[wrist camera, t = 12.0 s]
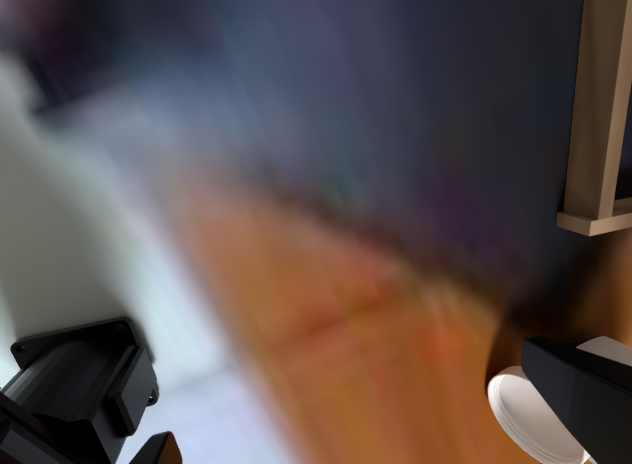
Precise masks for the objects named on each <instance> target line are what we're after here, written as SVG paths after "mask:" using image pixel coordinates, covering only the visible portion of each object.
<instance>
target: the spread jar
mask: <svg viewBox="0 0 632 464" xmlns="http://www.w3.org/2000/svg"><path fill="white" fill-rule="evenodd" d="M564 344H566V345H569V346H572V347H575V348H578V349H581V350H584V351H587V352H590V353H593V354H596V355H599V356H602V357H605V358H608V359H611V360H614V361H617V362H620V363H623V364H626V365H629V366H632V349H631V348H630V347H628V346H626V345H624V344H622V343H620V342H618V341H616V340H614V339H611V338H609V337H606V336H601V335H591V336H585V337H581V338H578V339H575V340H572V341H569V342H566V343H564ZM488 399H489V403H490V406H491V408H492V411H493V413H494V415H495V417H496V418H497V420H498V421H499V423H500V425H501V426H502V427H503V429H504V430H505V431H506V433H507V434H508V435H509V436H510V437H511V438H512V439H513V440H514V441H515V442H516V443H517V444H518V445H519V446H520V447H521V448H522V449H523V450H524V451H526V452H527V453H528V454H530V455H531V456H532V457H534V458H536V459H537V460H539V461H540V462H542V463H544V464H583V463H584V462H585V461H586V460H587V459H589V460H590V461H591V462H592V463H593V464H597V463H596V462H595V461H594V459H593V458H592V457H591V456H590V455H589V454H588V453H587V452H586V450H585V449H584V448H583V447H582V446H581V445H580V444H579V443H578V442H577V440H576V439H575V438H574V437H573V436H572V435H571V433H570V432H569V431H568V430H567V429H566V428H565V426H564V425H563V424H562V423H561V421H560V420H559V419H558V417H557V416H556V415H555V413H554V412H553V411H552V410H551V408H550V407H549V406H548V404H547V403H546V402H545V400H544V399H543V398H542V396H541V395H540V394H539V392H538V391H537V390H536V388H535V387H534V386H533V385H532V383H531V382H530V381H529V379H528V378H527V377H526V375H525V374H524V372H523V370H522V368H521V366H512V367H507V368H506V369H504V370H502V371H501V372H500V373H498V374H497V375H496V376H494V377H493V378H492V379H491V380H490V382H489V385H488Z"/></svg>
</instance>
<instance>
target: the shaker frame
mask: <svg viewBox="0 0 632 464" xmlns="http://www.w3.org/2000/svg"><path fill="white" fill-rule="evenodd" d="M631 81H632V0H584V5H583V15H582V25H581V35H580V46H579V56H578V66H577V76H576V86H575V97H574V107H573V117H572V127H571V138H570V148H569V158H568V168H567V178H566V189H565V199H564V209H563V211H562V212H557V219H556V226H558V227H561V228H564V229H568V230H571V231H574V232H577V233H580V234H583V235H587V236H593V235H597V234H602V233H606V232H611V231H615V230H620V229H624V228H629V227H632V197H629V198H624V199H619V200H615V201H614V196H615V189H616V182H617V176H618V169H619V162H620V155H621V149H622V142H623V135H624V128H625V121H626V115H627V108H628V101H629V94H630V87H631Z"/></svg>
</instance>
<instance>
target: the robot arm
mask: <svg viewBox="0 0 632 464" xmlns="http://www.w3.org/2000/svg"><path fill="white" fill-rule="evenodd" d="M119 324H123V325H125V326H126V327H125V328H123V327H120V325H119ZM21 346H23V347H25V348H26V349H23V348H22V347H21ZM10 349H11V352H12V354H13V356H14V358H15V360H16V362H17V363H18V365H19V367H20V369H21V370H20V371H19V372H18V373H17V374H16V375H15V376H14V377H13V378H12V379H11V380H10V381H9V382H8V383H7V384H6V385H5V386H4V387H3V388H2V389H1V387H0V389H1V390H0V464H116V461H117V459H118V457H119V454H120V452H121V449H122V447H123V445H124V442H125V440H126V438H127V437H128V436H132V435H134V433H135V432H136V430H137V428H138V426H139V423H140V421H141V418H142V416H143V413H144V410H145V408H146V407H148V406H152V405H154V404H155V403H157V400H158V398H159V391H158V389H157V386H156V380H157V378H156V375H155V372H154V370H153V367H152V364H151V362H150V359H149V356H148V354H147V351H146V349H145V348H144V347H143V346H141V344H140V341H139V339H138V336H137V333H136V331H135V328H134V325H133V323H132V321H131V319H129V318H127V317H118V318H113V319H108V320H104V321H99V322H94V323H90V324H85V325H80V326H76V327H71V328H66V329H62V330H57V331H52V332H48V333H43V334H38V335H34V336H29V337H24V338H20V339H18V340H17V341H16V342H15V343H14V344H13V345H12V346H11V348H10ZM521 368H522V370H523V372H524V374H525V375H526V377H527V378H528V379H529V381H530V382H531V383H532V385H533V386H534V387H535V388H536V390H537V391H538V392H539V394H540V395H541V396H542V398H543V399H544V400H545V402H546V403H547V404H548V406H549V407H550V408H551V410H552V411H553V412H554V413H555V415H556V416H557V417H558V419H559V420H560V421H561V423H562V424H563V425H564V426H565V428H566V429H567V430H568V431H569V432H570V433H571V435H572V436H573V437H574V438H575V439H576V440H577V442H578V443H579V444H580V445H581V446H582V447H583V448H584V449H585V450H586V452H587V453H588V454H589V455H590V456H591V457H592V458H593V459H594V461H595V462H596V463H597V464H632V366H629V365H626V364H623V363H620V362H617V361H614V360H611V359H608V358H605V357H602V356H599V355H596V354H593V353H590V352H587V351H584V350H581V349H578V348H575V347H572V346H569V345H566V344H563V343H560V342H557V341H554V340H551V339H548V338H545V337H542V336H534V337H530V338H526V339H524V340H523V342H522V349H521ZM150 396H151V397H153V398H150ZM129 464H183V462H182V456H181V453H180V450H179V448H178V445H177V442H176V440H175V437H174V435H173V433H172V432H171V431H166V432H162V433H158V434H155V435H153V436H151V437H150V438H149V439H148V441H147V442H146V443H145V444H144V445H143V447H142V448H141V449H140V450H139V452H138V453H137V454H136V455H135V457H134V458H133V459H132V460H131V462H130V463H129Z"/></svg>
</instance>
